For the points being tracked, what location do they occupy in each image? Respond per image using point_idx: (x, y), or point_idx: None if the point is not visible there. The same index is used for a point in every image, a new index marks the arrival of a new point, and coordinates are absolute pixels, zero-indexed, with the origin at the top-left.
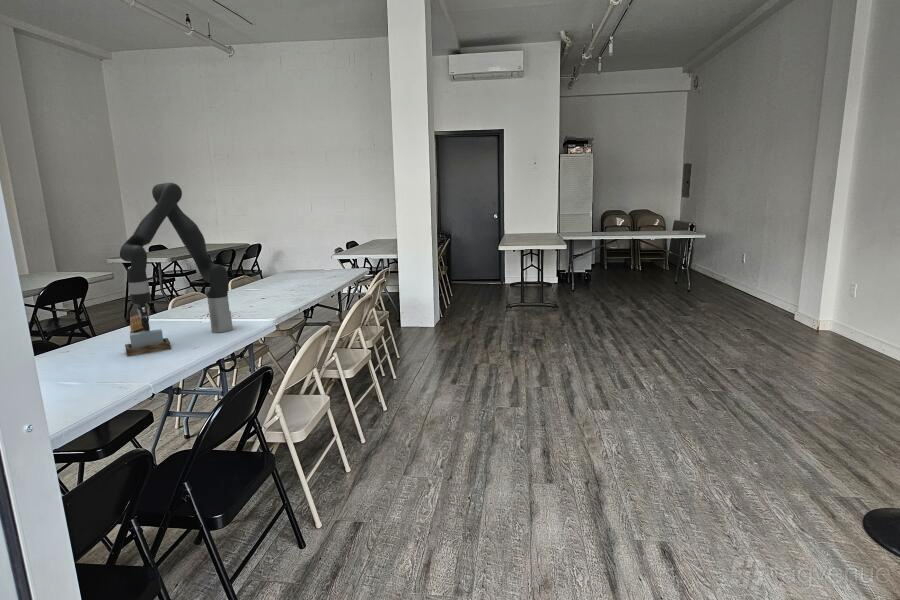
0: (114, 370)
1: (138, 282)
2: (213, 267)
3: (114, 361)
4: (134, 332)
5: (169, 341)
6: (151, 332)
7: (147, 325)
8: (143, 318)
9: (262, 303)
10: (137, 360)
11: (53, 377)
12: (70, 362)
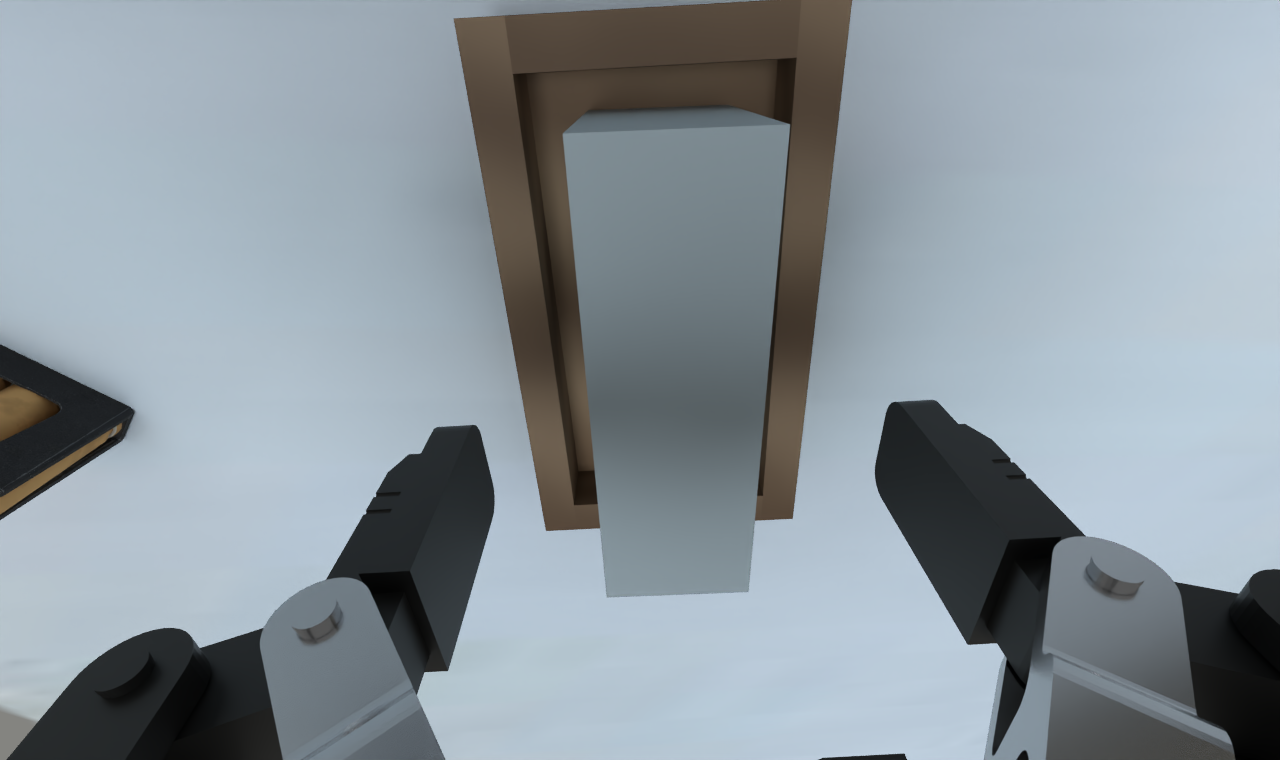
0: (1145, 532)
1: None
2: None
3: (853, 540)
4: (10, 474)
5: (788, 2)
6: (769, 332)
7: (1031, 497)
8: (417, 630)
9: None
10: (1001, 393)
11: (937, 754)
12: (641, 727)
